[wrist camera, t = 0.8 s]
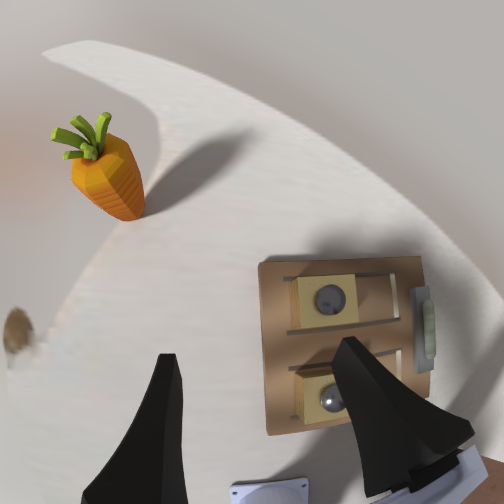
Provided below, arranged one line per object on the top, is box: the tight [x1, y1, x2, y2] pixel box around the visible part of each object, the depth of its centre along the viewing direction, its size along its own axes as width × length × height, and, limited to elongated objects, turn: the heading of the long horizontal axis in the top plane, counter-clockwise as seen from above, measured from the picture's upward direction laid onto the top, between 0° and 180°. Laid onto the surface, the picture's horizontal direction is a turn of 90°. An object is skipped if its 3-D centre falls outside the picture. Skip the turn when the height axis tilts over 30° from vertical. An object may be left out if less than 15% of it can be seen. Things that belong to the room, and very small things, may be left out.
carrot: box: [51, 112, 145, 221], centre depth 19 cm, size 5×5×15 cm
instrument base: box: [258, 256, 436, 436], centre depth 23 cm, size 16×18×4 cm
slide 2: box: [294, 368, 349, 424], centre depth 20 cm, size 4×5×4 cm
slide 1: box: [289, 274, 359, 328], centre depth 22 cm, size 4×5×4 cm
